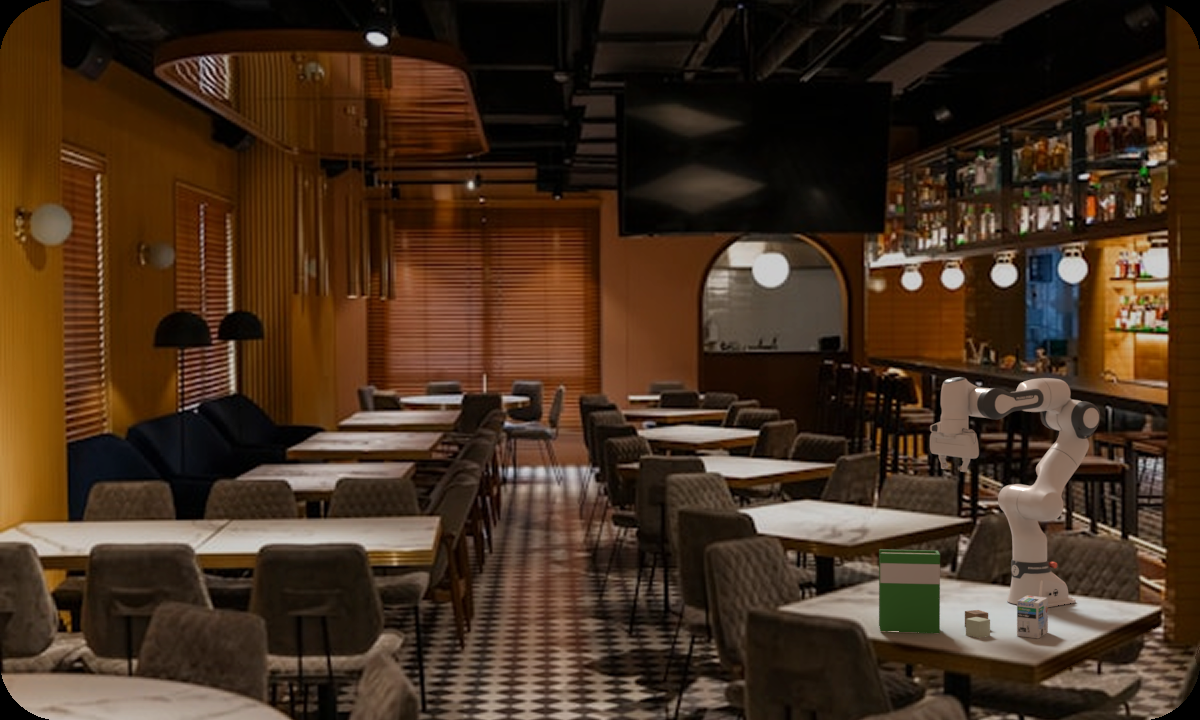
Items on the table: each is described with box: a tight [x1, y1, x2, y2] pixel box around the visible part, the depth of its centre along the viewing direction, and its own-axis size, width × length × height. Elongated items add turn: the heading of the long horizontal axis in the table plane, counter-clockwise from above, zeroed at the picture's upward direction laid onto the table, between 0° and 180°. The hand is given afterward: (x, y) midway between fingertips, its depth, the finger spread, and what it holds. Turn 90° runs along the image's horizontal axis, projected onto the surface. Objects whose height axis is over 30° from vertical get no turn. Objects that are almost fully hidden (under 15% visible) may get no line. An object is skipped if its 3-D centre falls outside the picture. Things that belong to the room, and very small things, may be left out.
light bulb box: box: [1016, 595, 1049, 639], centre depth 441 cm, size 11×7×11 cm, turn 148°
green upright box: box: [878, 548, 941, 634], centre depth 447 cm, size 18×7×24 cm, turn 82°
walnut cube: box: [964, 609, 989, 628], centre depth 450 cm, size 5×5×5 cm
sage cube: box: [965, 617, 991, 639], centre depth 440 cm, size 5×5×5 cm
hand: (954, 470), depth 475 cm, fingers open, 8 cm apart
